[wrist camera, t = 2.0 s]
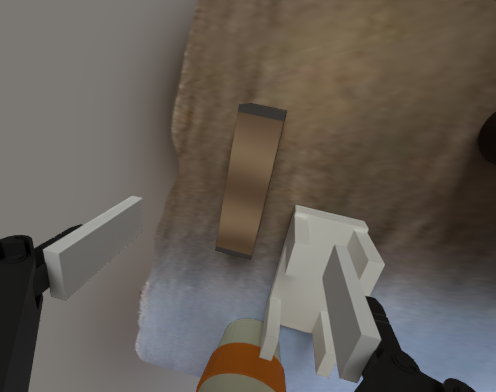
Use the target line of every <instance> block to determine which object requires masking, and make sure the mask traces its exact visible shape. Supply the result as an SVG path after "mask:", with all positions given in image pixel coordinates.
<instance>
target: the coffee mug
mask: <svg viewBox="0 0 496 392" xmlns="http://www.w3.org/2000/svg"><path fill="white" fill-rule="evenodd" d="M478 145H479V150H480V152H481V154H482V155H483V157H484V158H485V159H487V160H488V161H490V162H491V163H493V164H495V165H496V112H495V113H494V114H492V115H491V117H490V118H489V119H488V120H487V121H486V122H485V124H484V125H483V127H482V129H481V131H480V134H479V138H478Z"/></svg>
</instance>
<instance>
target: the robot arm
mask: <svg viewBox="0 0 496 392" xmlns="http://www.w3.org/2000/svg"><path fill="white" fill-rule="evenodd" d="M142 200H143V199H142V198H139V197H135V196H131V197H130V198H128V199H126V200H124V201H123V202H121V203H120V204H118V205H116V206H114V207H113V208H111V209H109V210H108V211H106V212H104V213H103V214H101V215H99V216H98V217H96V218H95V219H93V220H91V221H90V222H88V223H86V224H85V225H81V224H80V225H77V226H74V227H71V228H69V229H67V230H65V231H64V232H62V233H61V234H58V235H57V236H55V238H52V239H50V240H48V241H46V242H45V243H43V244H41V245H39V246H38V247H36V248H34V247H33V241H32V238H31V237H29V236H25V235H14V236H9V237H6V238H3V239H0V392H28V389H29V382H30V376H31V370H32V364H33V358H34V352H35V346H36V340H37V333H38V327H39V321H40V315H41V309H42V302H43V295H42V293H43V292H44V291H45V290H46V289H48V288H49V287H50V293H51V297H54V298H58V299H61V300H65V301H66V300H67V299H68V298H69V297H70V296H71V295H73V294H74V293H75V292H76V291H77V290H78V289H79V288H80V287H81V286H83V285H84V284H85V283H86V282H87V281H88V280H89V279H91V278H92V277H93V276H94V275H95V274H96V273H97V272H98V271H100V270H101V269H102V268H103V267H104V266H105V265H106V264H107V263H108V262H110V261H111V260H112V259H113V258H114V257H115V256H116V255H117V254H119V253H120V252H121V251H122V250H123V249H124V248H125V247H126V246H128V245H129V244H130V243H131V242H132V241H133V240H134V239H135V238H137V237H138V236H139V235H140V234H141V233H142ZM322 280H323V286H324V292H325V298H326V303H327V309H328V315H329V321H330V326H331V332H332V338H333V344H334V349H335V355H336V361H337V367H338V373H339V378H341V379H344V380H348V381H351V382H355V383H358V381H359V379H360V377H361V375H362V376H363V380H362V382H361V383H360V385H359V386H358V387H357V389H356V390H355V391H354V392H475V391H474V390H473V389H472V388H471V387H469V386H468V385H467V384H465V383H464V382H461V381H459V380H457V379H453V378H449V379H446V380H445V381H444V383H443V384H442V383H440V382H439V381H437V380H435V379H433V378H431V377H429V376H427V375H426V374H424V373H422V372H421V371H420V370H419V367H418V365H417V364H416V362H415V361H414V360H413V359H412V358H411V357H410V356H409V355H408V354H406V353H405V352H403V351H402V350H401V348H400V345H399V343H398V341H397V338H396V336H395V334H394V332H393V329H392V327H391V325H390V324H389V320H388V318H387V317H386V314H385V311H384V309H383V307H382V306H381V304H380V303H379V302H378V301H377V300H376V299H375V298H372V297H368V296H365V295H364V292H363V289H362V287H361V284H360V281H359V279H358V276H357V273H356V271H355V268H354V265H353V263H352V260H351V257H350V255H349V252H348V249H347V247H345V246H341V245H336V244H334V247H333V249H332V252H331V255H330V258H329V260H328V263H327V266H326V268H325V271H324V274H323V277H322Z"/></svg>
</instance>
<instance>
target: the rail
mask: <svg viewBox="0 0 496 392" xmlns="http://www.w3.org/2000/svg"><path fill="white" fill-rule="evenodd" d="M286 113H287V110H282V109H277V108H272V107H267V106H263V105H258V104H253V103H248V104H239V109H238V115H237V121H236V127H235V133H234V139H233V145H232V151H231V157H230V164H229V170H228V176H227V182H226V188H225V194H224V200H223V206H222V212H221V218H220V224H219V231H218V237H217V243H216V249H215V251H219V252H222V253H226V254H230V255H234V256H238V257H241V258H245V259H249V260H251V258H252V254H253V250H254V246H255V242H256V238H257V234H258V230H259V226H260V222H261V218H262V214H263V210H264V205H265V201H266V197H267V193H268V188H269V184H270V180H271V176H272V172H273V167H274V163H275V159H276V155H277V151H278V146H279V142H280V138H281V134H282V130H283V125H284V121H285V117H286Z"/></svg>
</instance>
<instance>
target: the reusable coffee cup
mask: <svg viewBox="0 0 496 392" xmlns="http://www.w3.org/2000/svg"><path fill="white" fill-rule="evenodd" d="M263 325H264V322H262V321H259V320H256V319H247V318H244V319H239V320H236V321H234V322H232V323H231V324H230V325H229V326H228V327H227V329H226V331H225V333H224V335H223V338H222V340H221V342H220V344H219V346H218V348H217V349H216V350H215V351H214V352H213V354H212V355H211V357H210V360H209V362H208V364H207V366H206V368H205V371H204V373H203V375H202V377H201V379H200V381H199V384H198V386H197V390H196V392H286V385H285V375H284V369H283V367H282V365H281V361H280V349H279V340H278V343H277V346H276V349H275V352H274V354H273V357H272V360H271V361H270V360H266V359H263V358H259V356H260V348H261V340H262V332H263Z"/></svg>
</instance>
